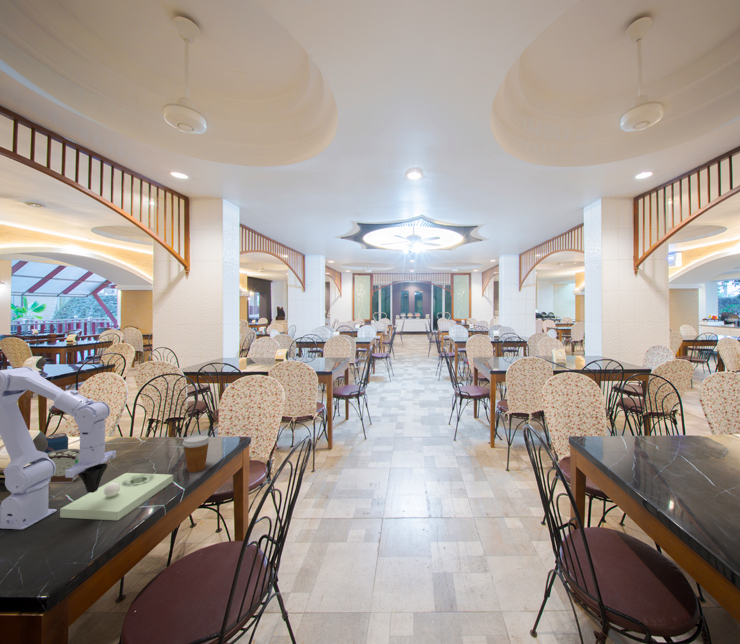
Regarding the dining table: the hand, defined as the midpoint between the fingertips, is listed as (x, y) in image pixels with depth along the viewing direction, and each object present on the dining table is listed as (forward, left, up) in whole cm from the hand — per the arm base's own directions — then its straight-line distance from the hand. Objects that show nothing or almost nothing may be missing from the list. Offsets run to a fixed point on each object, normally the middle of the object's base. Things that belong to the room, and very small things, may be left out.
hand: (92, 491), depth 99 cm
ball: (+7, 0, -3) cm, 8 cm away
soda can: (+32, +46, -8) cm, 57 cm away
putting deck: (+11, 0, -8) cm, 13 cm away
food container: (+22, +31, -8) cm, 39 cm away
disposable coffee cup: (+34, -11, -8) cm, 37 cm away
